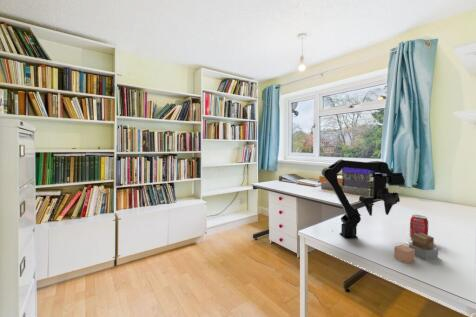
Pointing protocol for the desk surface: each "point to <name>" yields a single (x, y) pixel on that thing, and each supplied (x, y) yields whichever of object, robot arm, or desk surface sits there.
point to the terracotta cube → (404, 253)
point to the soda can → (418, 225)
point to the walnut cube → (423, 241)
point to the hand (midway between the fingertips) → (378, 215)
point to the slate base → (425, 252)
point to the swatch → (408, 243)
